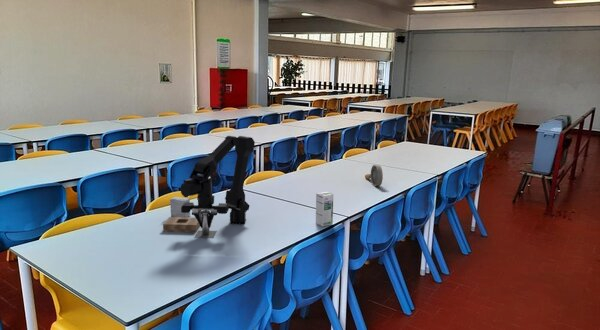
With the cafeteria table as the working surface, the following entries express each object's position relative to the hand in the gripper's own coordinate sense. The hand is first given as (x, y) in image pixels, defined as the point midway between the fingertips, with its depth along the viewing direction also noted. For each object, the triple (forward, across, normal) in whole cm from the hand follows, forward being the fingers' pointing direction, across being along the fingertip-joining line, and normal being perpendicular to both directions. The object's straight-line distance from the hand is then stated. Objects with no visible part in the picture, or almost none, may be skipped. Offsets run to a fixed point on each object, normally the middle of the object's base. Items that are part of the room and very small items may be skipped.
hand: (205, 227), depth 183 cm
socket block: (+3, +12, -6) cm, 14 cm away
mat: (+3, 0, 0) cm, 3 cm away
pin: (+3, 0, 0) cm, 3 cm away
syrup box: (+4, -50, -17) cm, 53 cm away
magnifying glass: (+4, -85, -91) cm, 124 cm away
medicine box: (+4, +16, -22) cm, 28 cm away
